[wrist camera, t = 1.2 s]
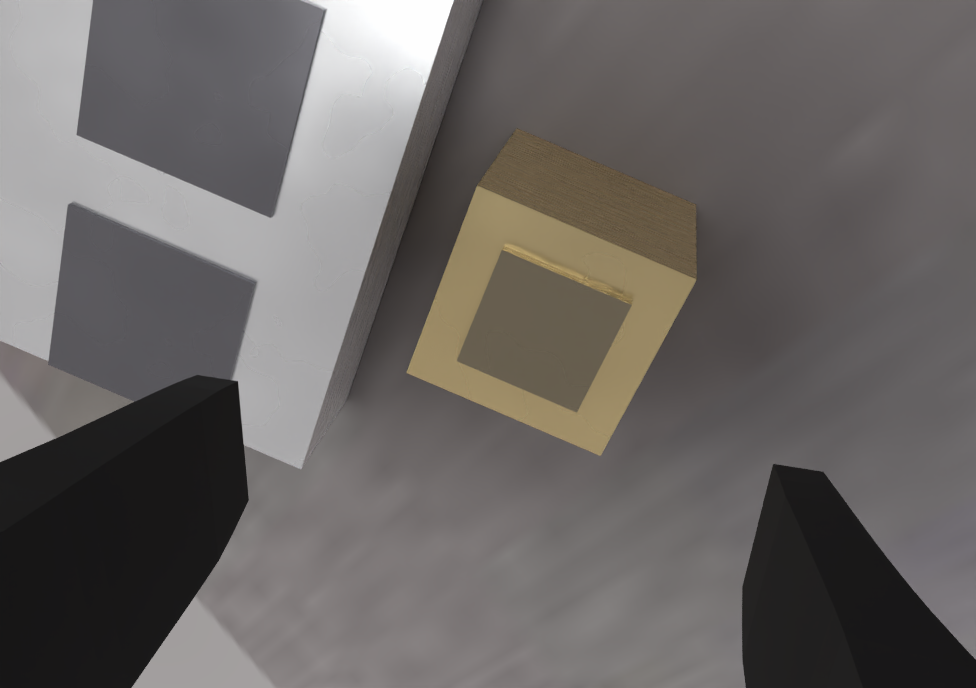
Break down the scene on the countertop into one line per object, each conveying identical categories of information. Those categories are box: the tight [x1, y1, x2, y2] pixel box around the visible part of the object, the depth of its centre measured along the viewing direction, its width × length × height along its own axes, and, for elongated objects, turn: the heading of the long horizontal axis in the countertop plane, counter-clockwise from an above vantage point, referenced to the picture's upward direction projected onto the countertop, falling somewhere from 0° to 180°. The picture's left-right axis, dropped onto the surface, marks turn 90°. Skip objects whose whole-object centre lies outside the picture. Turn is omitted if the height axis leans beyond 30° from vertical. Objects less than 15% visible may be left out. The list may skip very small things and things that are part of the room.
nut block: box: [407, 128, 697, 456], centre depth 18 cm, size 4×4×4 cm
